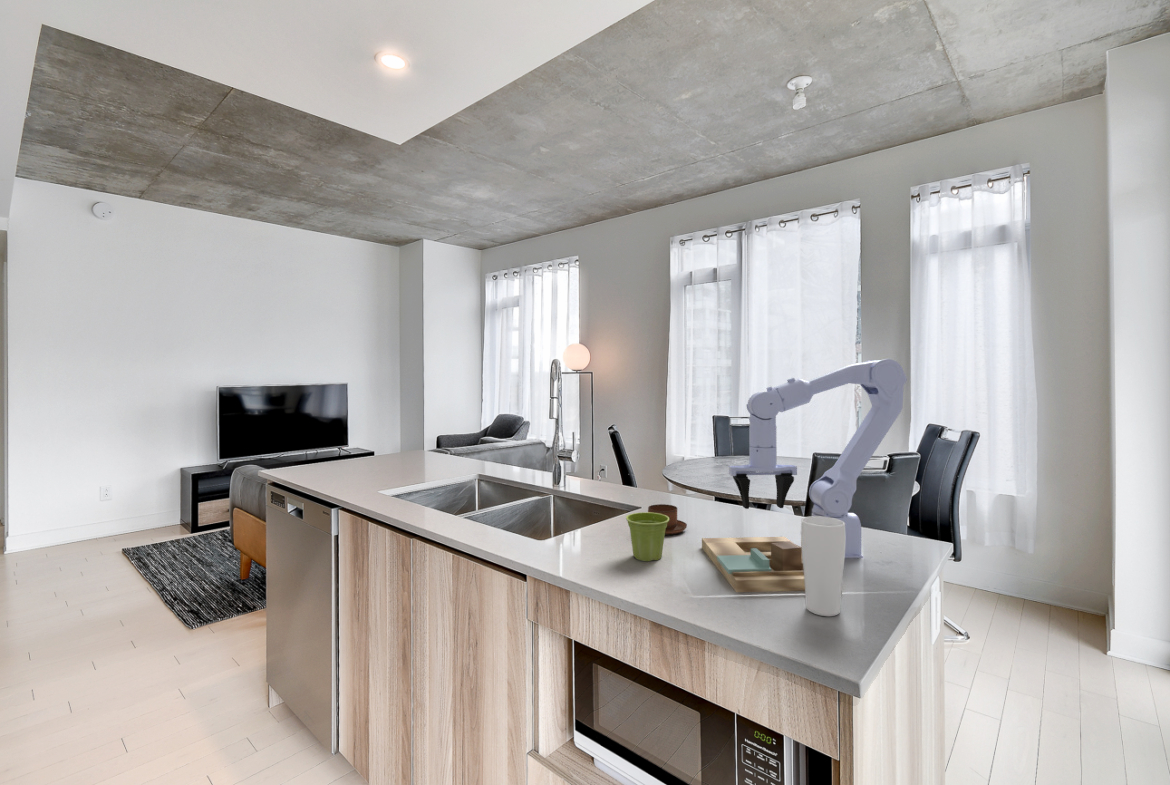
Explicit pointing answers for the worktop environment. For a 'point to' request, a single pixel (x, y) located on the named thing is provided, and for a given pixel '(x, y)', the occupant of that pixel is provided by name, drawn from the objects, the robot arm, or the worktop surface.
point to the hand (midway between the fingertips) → (763, 507)
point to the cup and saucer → (670, 511)
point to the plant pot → (647, 534)
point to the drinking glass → (823, 563)
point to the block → (786, 556)
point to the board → (755, 579)
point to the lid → (745, 562)
